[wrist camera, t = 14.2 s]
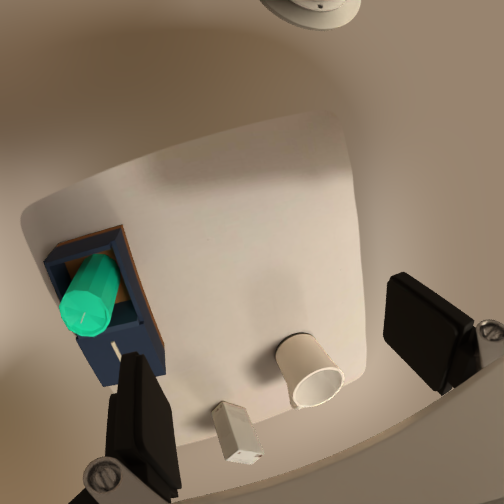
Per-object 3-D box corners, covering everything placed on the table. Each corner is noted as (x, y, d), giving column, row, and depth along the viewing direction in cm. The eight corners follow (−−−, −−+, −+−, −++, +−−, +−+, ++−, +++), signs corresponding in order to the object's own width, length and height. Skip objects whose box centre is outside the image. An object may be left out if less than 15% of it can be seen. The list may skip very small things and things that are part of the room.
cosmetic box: (210, 412, 55) (222, 461, 44) (223, 399, 54) (237, 449, 43) (235, 420, 57) (250, 466, 46) (248, 407, 57) (265, 454, 46)
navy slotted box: (58, 243, 37) (40, 265, 30) (122, 224, 39) (113, 243, 32) (108, 356, 45) (102, 388, 38) (164, 343, 47) (166, 375, 40)
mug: (289, 324, 51) (314, 362, 42) (327, 336, 55) (354, 371, 46) (257, 371, 54) (275, 412, 44) (295, 379, 57) (316, 417, 48)
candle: (114, 249, 38) (97, 291, 27) (126, 289, 40) (116, 341, 30) (74, 258, 37) (46, 302, 26) (87, 297, 39) (68, 349, 28)
